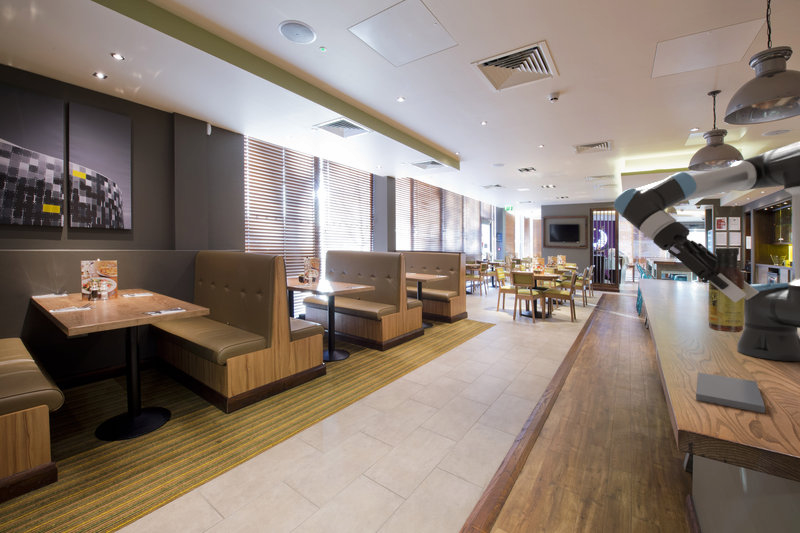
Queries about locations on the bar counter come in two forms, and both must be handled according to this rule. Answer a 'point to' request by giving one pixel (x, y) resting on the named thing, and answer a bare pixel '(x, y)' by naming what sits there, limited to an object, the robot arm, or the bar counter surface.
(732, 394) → the gray rectangular mat
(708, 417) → the bar counter surface
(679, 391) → the bar counter surface
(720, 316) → the sauce bottle
